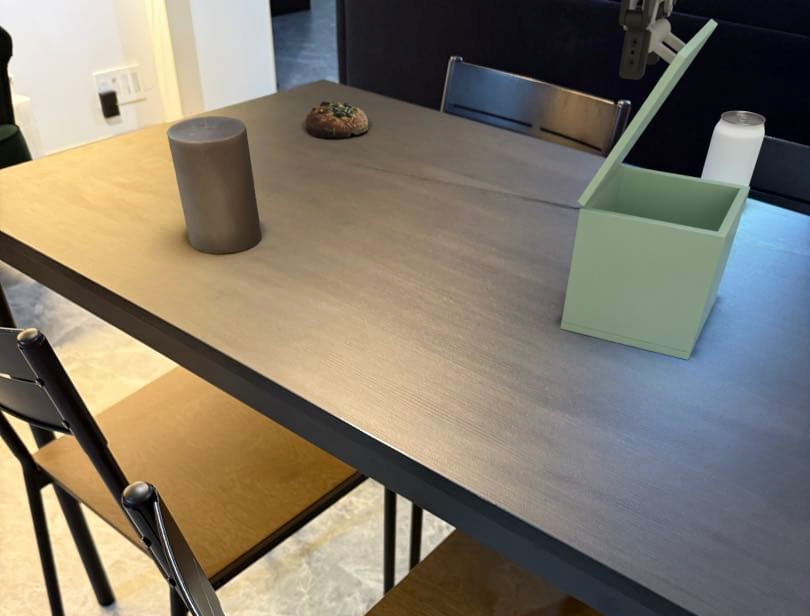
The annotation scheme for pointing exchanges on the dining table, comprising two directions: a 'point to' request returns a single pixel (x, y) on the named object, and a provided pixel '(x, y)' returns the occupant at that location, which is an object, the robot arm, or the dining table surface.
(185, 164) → the pillar candle
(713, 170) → the can
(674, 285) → the box
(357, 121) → the bread roll
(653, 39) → the lid
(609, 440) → the dining table surface
